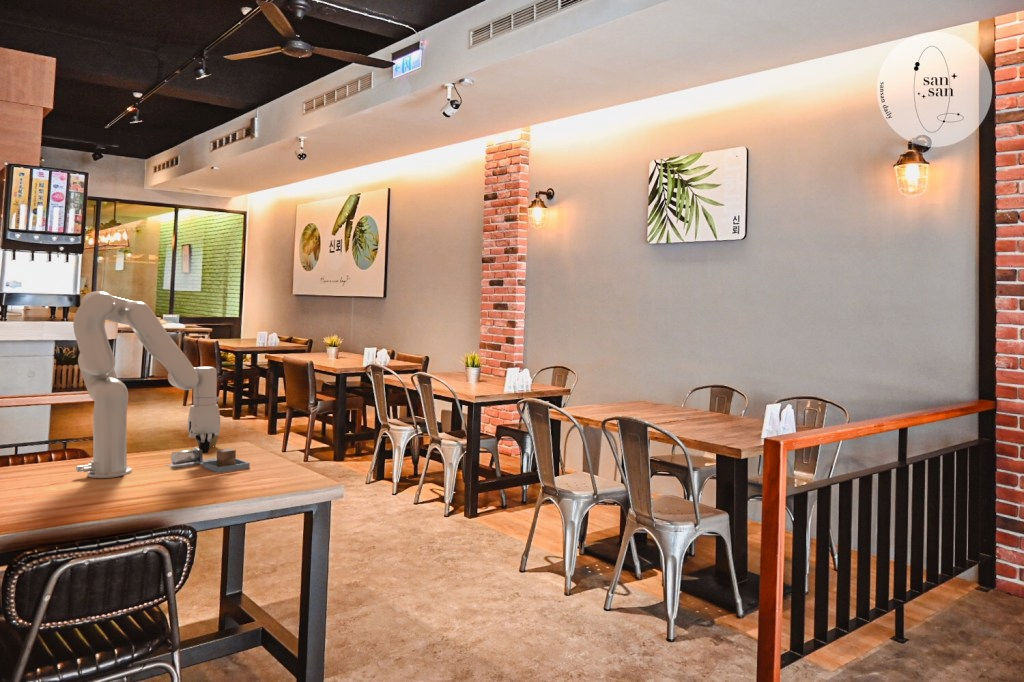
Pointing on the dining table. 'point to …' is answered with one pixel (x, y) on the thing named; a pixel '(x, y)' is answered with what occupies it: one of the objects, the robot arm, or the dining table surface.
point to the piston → (187, 456)
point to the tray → (213, 466)
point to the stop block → (226, 457)
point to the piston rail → (190, 464)
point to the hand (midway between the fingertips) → (204, 452)
